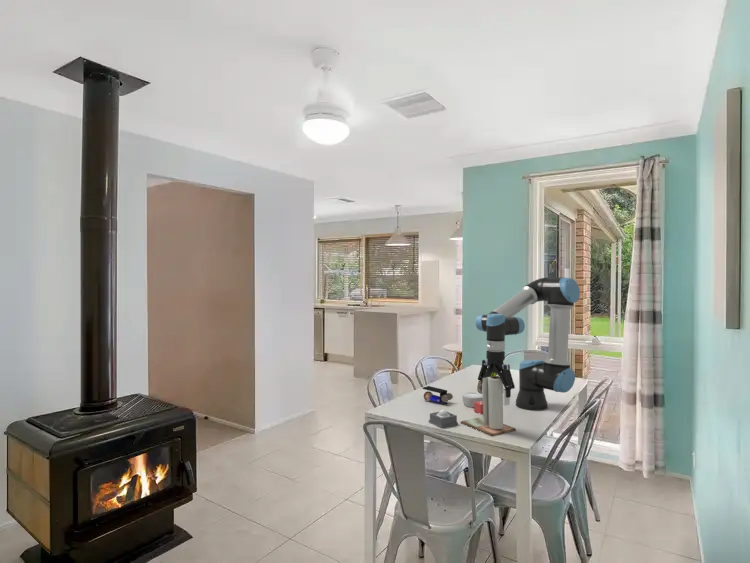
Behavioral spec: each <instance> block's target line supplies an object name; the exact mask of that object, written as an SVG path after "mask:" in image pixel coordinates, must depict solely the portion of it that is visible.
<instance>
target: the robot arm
mask: <svg viewBox="0 0 750 563" xmlns="http://www.w3.org/2000/svg"><path fill="white" fill-rule="evenodd" d="M580 296H581V292H580V286H579V284H578V282H577V281H576V280H575V279H573V278H572V277H563V276H562V277H541V278H538V279H535V280H533V281H531V282H530V283H529V282H528V284H526V285H525V286H523V287H522V288H521V289H520V291H519V292H518V293H517V294H514V296H512V297H510V299H508V300H507V301H505V302H504V303H502V304H501V305H499V306H497V307H496V308H495V309H493V310H492V311H490V312H489V313H487V314H479V315H478V316H477V317H476V318H475V322H474V323H475V327H476V329H477V330H478V331H482V332H486V350H487V351H486V355H485V356H486V358H485V359H481V367H480V370H479V372H478V373H479V374H478V376H477V380H478V381H479V382H480V384H481V385H480V386H481V394H482V398H483V378H486V377H491V375H492V373H494V374H497V375H498V377H500V379H501V381H502V383H503V388H504V389H503V406H510V403H511V402H510V400H511V399H510V398H511V396H512V395H511V391H512V390H513V389H516V386H515V383H514V380H513V377H512V373H511V365H510V364H505V363H504V361H505V358H506V354H505V350H506V347H505V346H506V340H505V339H506V336H512V335H513V336H514V335H515V336H516V335H519V334H520V335H521V334H522V333H523V332H524V331H525V327H526V326H525V322H524V321H525V320H523V318H522V317H518V316H515V315H517V314H518V313H520V312H522V311H523V310H524V309H525V308H527V307H528V306H529V305H534V304H536V303H537V302H547V306H548V307H549V308H550V314H549V327H548V328H549V329H548V331H549V332H548V347H547V349H548V350H547V358H546V359H545V360H543V359H525V360H521V361H520V362H519V369H518V371H519V378H518V382H519V383H518V384H519V389H518V393H517V396H516V399H515V406H516V407H518V408H519V409H523V410H529V411H543V410H547V409H548V408H549V406H548V401H547V398H546V395H545V390H549V391H553V392H556V393H567V392H569V391H570V390H571V389H572V388H573V386H574V384H575V381H576V374H575V370H573V369H572V368H571V363H570V362H569V360H568V349H569V348H568V346H569V334H570V333H569V332H570V330H569V329H570V314H571V309H573V308H574V306H575V303H576V302H578V301H579V299H580Z"/></svg>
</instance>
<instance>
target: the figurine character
mask: <svg viewBox="0 0 750 563" xmlns="http://www.w3.org/2000/svg"><path fill="white" fill-rule="evenodd" d="M422 389H423V390H425V392H424V394H423V399H424V401H426V402H431V401H432V402H436V403H439V404H440V405H444V406H446V405H448V404H449V403H448V401H451V400H452V399H453V398H454V396H453V394H452V393H451V392H448V390H447V389H442V388H439V387H434V386H430V385H427V386H423V387H422ZM433 392H434V393H439V395H436V394H433Z"/></svg>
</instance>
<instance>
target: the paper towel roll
mask: <svg viewBox="0 0 750 563" xmlns="http://www.w3.org/2000/svg"><path fill="white" fill-rule="evenodd" d="M503 388H504V385H503V383H502V381H501V379H500V377H499V376H497V375H496V376H490V377H486V378H483V414H482V415H483V416H482V417H483V425H484V427H486V426H489V428H491V429H502V428H503V424H504V405H503V403H504V389H503Z"/></svg>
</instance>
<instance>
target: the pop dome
mask: <svg viewBox="0 0 750 563" xmlns="http://www.w3.org/2000/svg"><path fill="white" fill-rule="evenodd" d="M438 412H439V413H438V414H436V415H437V416H439V417H441V418H443V417H448V416H450V414H448V413H447V412H448V411H447V410H446V409H440V410H439V411H438Z"/></svg>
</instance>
